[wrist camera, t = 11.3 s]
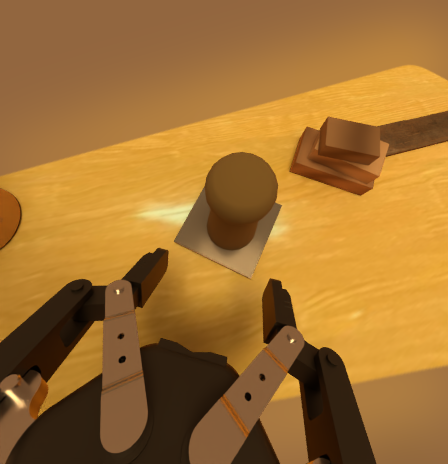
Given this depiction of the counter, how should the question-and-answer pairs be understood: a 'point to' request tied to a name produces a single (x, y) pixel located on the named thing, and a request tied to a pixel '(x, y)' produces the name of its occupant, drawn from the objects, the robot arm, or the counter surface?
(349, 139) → the offcut stack
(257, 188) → the cork
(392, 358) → the counter surface
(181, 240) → the slate coaster
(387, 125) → the wooden plank
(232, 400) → the robot arm
